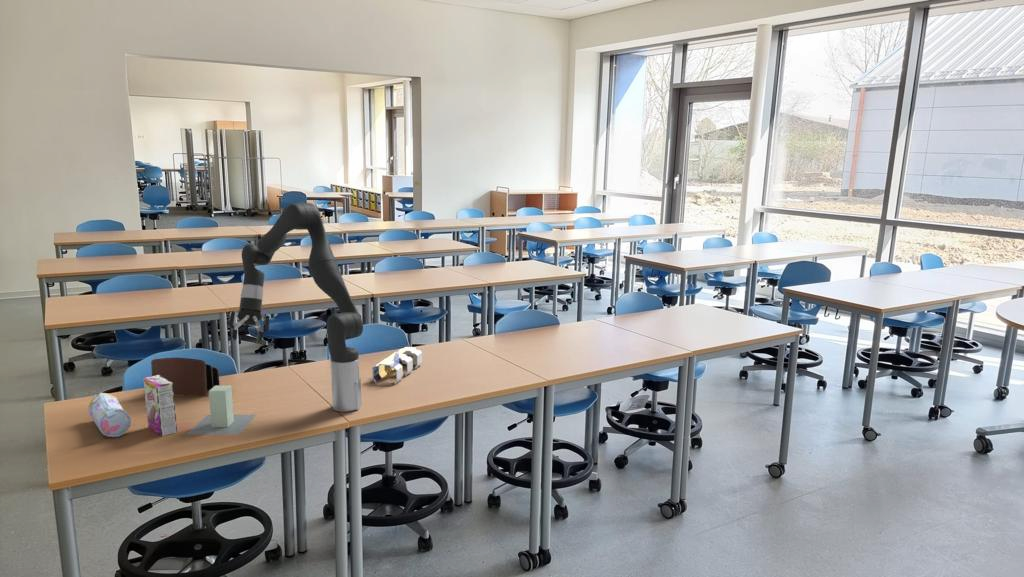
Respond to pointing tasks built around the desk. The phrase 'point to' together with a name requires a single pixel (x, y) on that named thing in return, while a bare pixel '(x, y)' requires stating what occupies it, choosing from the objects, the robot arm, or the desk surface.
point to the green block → (221, 406)
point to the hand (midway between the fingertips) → (246, 341)
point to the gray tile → (233, 428)
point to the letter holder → (187, 375)
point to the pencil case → (109, 415)
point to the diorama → (398, 363)
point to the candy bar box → (160, 405)
